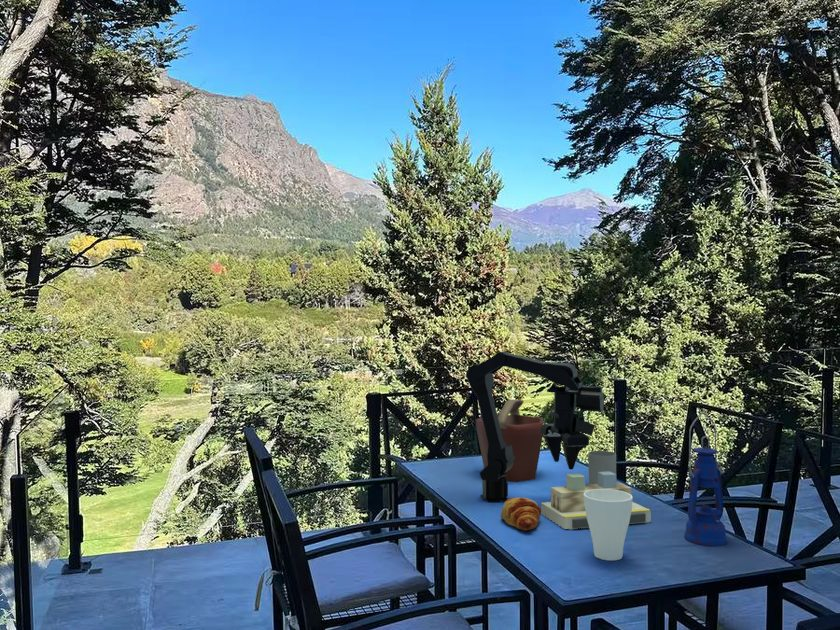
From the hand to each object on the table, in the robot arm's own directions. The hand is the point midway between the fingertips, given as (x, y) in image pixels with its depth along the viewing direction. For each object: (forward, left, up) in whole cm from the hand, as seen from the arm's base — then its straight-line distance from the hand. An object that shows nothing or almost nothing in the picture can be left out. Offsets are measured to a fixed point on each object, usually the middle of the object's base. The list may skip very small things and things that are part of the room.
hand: (563, 465), depth 187 cm
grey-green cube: (-2, -11, -4) cm, 12 cm away
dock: (+3, -11, -12) cm, 16 cm away
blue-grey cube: (+7, -11, -4) cm, 14 cm away
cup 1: (+22, +19, -12) cm, 32 cm away
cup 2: (-8, -37, -12) cm, 40 cm away
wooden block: (+2, -11, -9) cm, 14 cm away
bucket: (0, +38, -12) cm, 40 cm away
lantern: (+20, -33, -12) cm, 41 cm away
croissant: (-16, -9, -12) cm, 22 cm away
